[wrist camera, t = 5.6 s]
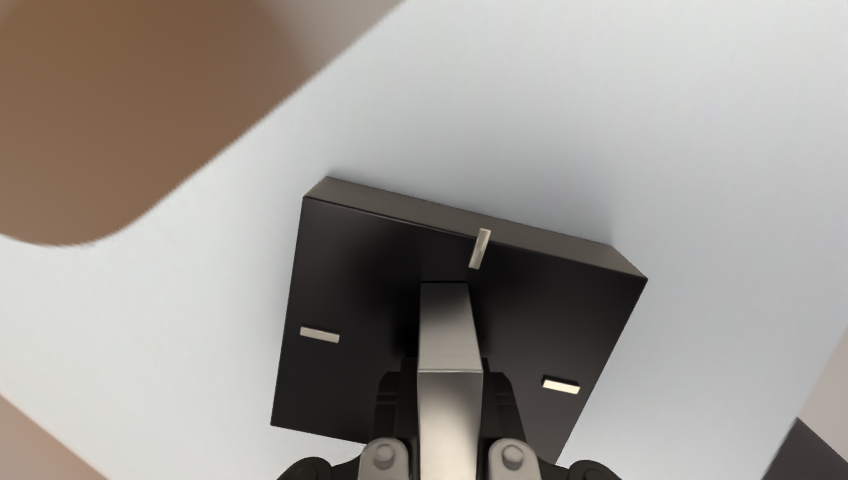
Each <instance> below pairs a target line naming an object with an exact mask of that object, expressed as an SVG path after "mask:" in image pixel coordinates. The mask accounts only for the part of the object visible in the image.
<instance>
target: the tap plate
mask: <svg viewBox="0 0 848 480" xmlns="http://www.w3.org/2000/svg"><path fill="white" fill-rule="evenodd" d="M647 281H648V278H647V277H646V276H645V275H644V274H642V273H641V272H640V271H639V270H638V269H637V268H636V267H635V266H634V265H632V264H631V263H630V262H629V261H628V260H627V259H626V258H625V257H624V256H622V255H621V254H620V253H619V252H618V251H617V250H616V249H615V248H614V247H612V246H609V245H605V244H601V243H596V242H592V241H588V240H584V239H580V238H576V237H572V236H568V235H564V234H560V233H556V232H552V231H547V230H543V229H539V228H535V227H531V226H527V225H523V224H519V223H515V222H511V221H507V220H503V219H498V218H494V217H490V216H486V215H482V214H478V213H474V212H470V211H466V210H462V209H458V208H454V207H449V206H445V205H441V204H437V203H433V202H429V201H425V200H421V199H417V198H413V197H409V196H405V195H401V194H396V193H392V192H388V191H384V190H380V189H376V188H372V187H368V186H364V185H360V184H356V183H352V182H347V181H343V180H339V179H335V178H331V177H327V176H326V177H324V178H323V179H322V180H321V181H320V182H319V183H318V184H316V185H315V186H314V187H313V188H312V189H311V190H310V191H309V192H308V193H306V194H305V195H304V196H303V201H302V207H301V214H300V221H299V228H298V235H297V242H296V249H295V256H294V263H293V270H292V277H291V284H290V291H289V297H288V304H287V311H286V318H285V325H284V332H283V339H282V346H281V353H280V360H279V367H278V374H277V381H276V387H275V394H274V401H273V408H272V415H271V422H270V424H271V426H276V427H281V428H286V429H291V430H296V431H301V432H306V433H311V434H316V435H322V436H327V437H332V438H337V439H342V440H347V441H352V442H357V443H362V444H368V443H369V439H370V433H371V427H372V421H373V415H374V409H375V405H376V397H377V391H378V386H379V381H380V380H381V379H382V377H383V376H384V375H385V373H386V372H400V366H401V358H402V357H418V339H419V317H420V294H421V284H422V283H467V285H468V291H469V296H470V301H471V307H472V312H473V318H474V323H475V328H476V334H477V339H478V345H479V350H480V355H481V357H487V359H488V363H489V368H490V372H503V373H504V375H505V376H506V377H507V378H508V379H509V380H510V382H511V384H512V388H513V392H514V396H515V399H516V403H517V407H518V410H519V414H520V418H521V421H522V425H523V429H524V433H525V436H526V440H527V443H528V445H529V446H530V447H531V448H532V449H533V451H534V452H535V454H536V455H537V456H538V457H539V458H541V459H542V460H544V461H546V462H548V463H551V464H553V465H555V464H556V462H557V460H558V458H559V456H560V454H561V452H562V450H563V448H564V446H565V444H566V442H567V440H568V438H569V436H570V434H571V432H572V430H573V428H574V426H575V424H576V422H577V420H578V418H579V416H580V414H581V412H582V410H583V408H584V406H585V404H586V402H587V400H588V398H589V396H590V394H591V392H592V390H593V388H594V386H595V384H596V382H597V380H598V378H599V377H600V375H601V373H602V371H603V369H604V367H605V365H606V363H607V361H608V359H609V357H610V355H611V353H612V351H613V349H614V347H615V345H616V343H617V341H618V339H619V337H620V335H621V333H622V331H623V329H624V327H625V325H626V323H627V321H628V319H629V317H630V315H631V313H632V311H633V309H634V307H635V305H636V303H637V301H638V299H639V297H640V295H641V293H642V291H643V289H644V287H645V285H646V283H647Z"/></svg>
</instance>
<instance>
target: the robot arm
mask: <svg viewBox="0 0 848 480" xmlns="http://www.w3.org/2000/svg"><path fill="white" fill-rule="evenodd" d="M417 361H418V357H402V358H401V366H400V372H386V373H385V375H384V376H383V377H382V379H381V380H380V381H379V386H378V391H377V397H376V405H375V409H374V415H373V421H372V427H371V433H370V439H369V443H368V444H367V445H366V446H365V448H364V449H363V451H362V453H361V454H360V455H359V456H358V457H356V458H355V459H353V460H351V461H349V462H346V463H343V464H339V465H336V466H333V467H331V465H330V464H329V463H328V462H327V461H326V460H324V459H322V458H319V457H308V458H304V459H301V460H299V461H297V462H296V463H294V464H293V465H291V466H290V467H289V468H288V469H287V470H286V471H285V472H284V473H283V474H282V475H281V476H280V477H279V478H278V479H277V480H419V457H418V397H417ZM481 361H482V366H483V387H482V405H481V423H480V441H479V458H478V476H477V480H621V479H620V478H619V477H618V476H617V475H616V474H615V473H614V472H612V471H611V470H610V469H609V468H607V467H606V466H604V465H602V464H600V463H598V462H595V461H591V460H580V461H577V462H575V463H573V464H572V465H571V466H570V468H569V469H567V468H564V467H560V466H557V465H553V464H551V463H548V462H546V461H544V460H542V459H541V458H539V457H538V456H537V455H536V454H535V452H534V451H533V449H532V448H531V447H530V446H529V445H528V443H527V440H526V436H525V433H524V429H523V425H522V421H521V418H520V414H519V410H518V407H517V403H516V399H515V396H514V392H513V388H512V384H511V382H510V380H509V379H508V378H507V377H506V376H505V375H504V373H503V372H490V368H489V363H488V359H487V357H481Z"/></svg>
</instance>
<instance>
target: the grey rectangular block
mask: <svg viewBox="0 0 848 480" xmlns="http://www.w3.org/2000/svg"><path fill="white" fill-rule="evenodd" d="M482 387H483V366H482V361H481V355H480V350H479V345H478V339H477V334H476V328H475V323H474V318H473V312H472V307H471V301H470V296H469V291H468V285H467V283H422V284H421V294H420V317H419V339H418V361H417V397H418V457H419V480H477V476H478V458H479V441H480V423H481V405H482Z"/></svg>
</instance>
